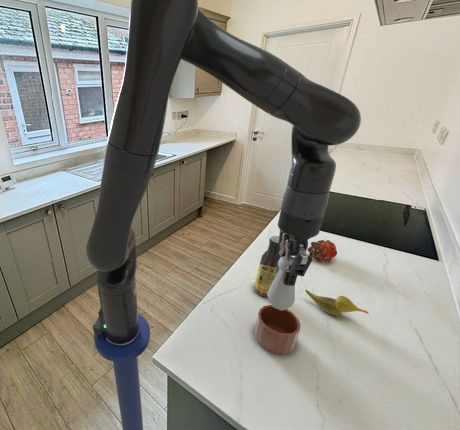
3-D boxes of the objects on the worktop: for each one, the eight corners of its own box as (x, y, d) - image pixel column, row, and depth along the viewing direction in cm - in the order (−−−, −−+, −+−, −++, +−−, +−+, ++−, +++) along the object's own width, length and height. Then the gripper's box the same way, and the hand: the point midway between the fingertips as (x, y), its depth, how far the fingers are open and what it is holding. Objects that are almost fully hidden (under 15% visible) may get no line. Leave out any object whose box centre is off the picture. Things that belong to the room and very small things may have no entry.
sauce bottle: (254, 295, 83) (264, 242, 74) (253, 283, 88) (262, 232, 79) (276, 300, 81) (289, 246, 72) (274, 286, 86) (286, 235, 78)
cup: (257, 351, 66) (262, 332, 63) (251, 321, 74) (255, 302, 71) (299, 357, 64) (306, 338, 61) (288, 325, 72) (293, 307, 69)
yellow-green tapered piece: (361, 331, 70) (369, 313, 67) (300, 303, 79) (305, 287, 76) (363, 321, 73) (371, 303, 70) (304, 295, 82) (309, 279, 79)
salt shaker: (289, 317, 59) (302, 271, 53) (263, 306, 62) (272, 262, 57) (294, 301, 63) (307, 257, 57) (269, 292, 66) (279, 249, 61)
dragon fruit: (308, 267, 97) (321, 259, 104) (334, 264, 90) (346, 256, 97) (300, 245, 98) (313, 238, 105) (324, 241, 91) (337, 234, 98)
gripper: (274, 194, 59) (262, 257, 66) (292, 224, 46) (275, 297, 54) (310, 196, 57) (294, 260, 65) (340, 227, 45) (315, 302, 52)
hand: (285, 276), depth 59 cm, fingers closed on salt shaker, 4 cm apart
